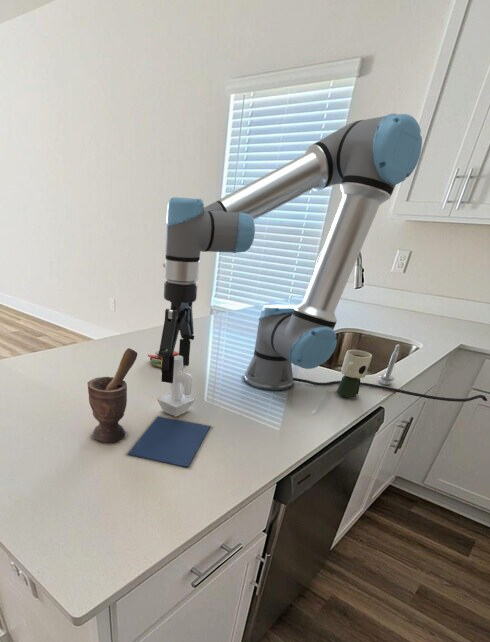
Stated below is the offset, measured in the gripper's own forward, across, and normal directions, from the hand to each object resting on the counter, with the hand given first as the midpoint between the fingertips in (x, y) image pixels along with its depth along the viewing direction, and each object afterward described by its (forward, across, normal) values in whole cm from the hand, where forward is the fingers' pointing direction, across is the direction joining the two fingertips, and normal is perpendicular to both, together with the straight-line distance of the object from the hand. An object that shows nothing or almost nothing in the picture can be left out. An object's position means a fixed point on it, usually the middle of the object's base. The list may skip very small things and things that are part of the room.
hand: (175, 373), depth 103 cm
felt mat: (+11, +15, +4) cm, 19 cm away
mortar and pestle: (+11, +17, -10) cm, 22 cm away
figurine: (+11, 0, 0) cm, 11 cm away
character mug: (+10, -32, +46) cm, 57 cm away
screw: (+10, -48, +58) cm, 76 cm away
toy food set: (+11, -35, -14) cm, 39 cm away
